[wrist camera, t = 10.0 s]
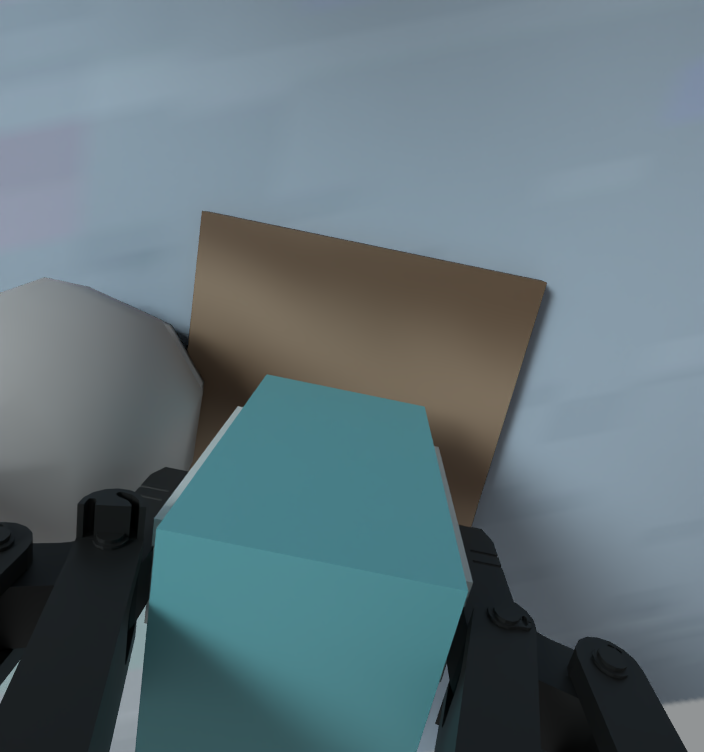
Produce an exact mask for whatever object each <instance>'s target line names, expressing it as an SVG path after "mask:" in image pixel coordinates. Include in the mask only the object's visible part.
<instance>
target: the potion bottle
mask: <svg viewBox="0 0 704 752" xmlns="http://www.w3.org/2000/svg"><path fill="white" fill-rule="evenodd" d="M203 388H204V380H203V379H202V377H201V375H200V373H199V372H198V370H197V368H196V367H195V365H194V363H193V361H192V360H191V358H190V356H189V354H188V353H187V351H186V349H185V347H184V346H183V344H182V342H181V340H180V339H179V337H178V335H177V333H176V332H175V330H174V328H173V326H172V325H171V324H168V323H166V322H164V321H162V320H160V319H158V318H156V317H154V316H152V315H149V314H147V313H145V312H143V311H141V310H138V309H136V308H134V307H132V306H130V305H128V304H125V303H123V302H121V301H119V300H117V299H114V298H112V297H110V296H108V295H106V294H103V293H101V292H99V291H97V290H95V289H92V288H90V287H87V286H83V285H78V284H73V283H69V282H64V281H59V280H55V279H50V278H45V277H44V278H41V279H38V280H36V281H33V282H30V283H27V284H24V285H21V286H18V287H15V288H13V289H10V290H7V291H4V292H1V293H0V522H13V523H18V524H21V525H24V526H27V527H28V528H29V529H30V530H31V531H32V533H33V543H62V542H71V541H75V539H76V526H77V504H78V503H79V502H80V500H81V499H82V498H83V497H85V496H87V495H89V494H91V493H93V492H95V491H100V490H104V489H116V488H120V489H126V490H132V491H134V492H135V491H136V490H137V489H138V488H139V487H141V484H142V483H143V482H144V481H145V480H146V479H147V478H148V476H149V475H150V474H152V473H154V472H156V471H158V470H160V469H162V468H164V467H169V468H174V469H179V470H184V471H189V469H190V466H191V464H192V462H193V456H194V449H195V442H196V436H197V429H198V422H199V415H200V408H201V402H202V395H203Z"/></svg>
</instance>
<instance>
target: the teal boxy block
mask: <svg viewBox="0 0 704 752" xmlns="http://www.w3.org/2000/svg"><path fill="white" fill-rule="evenodd" d="M467 594H468V588H467V584H466V579H465V575H464V571H463V567H462V562H461V558H460V554H459V550H458V546H457V541H456V537H455V533H454V529H453V524H452V520H451V516H450V512H449V507H448V503H447V499H446V495H445V491H444V486H443V482H442V478H441V474H440V469H439V465H438V461H437V457H436V452H435V448H434V444H433V440H432V436H431V431H430V427H429V423H428V419H427V414H426V410H425V407H424V406H419V405H415V404H410V403H405V402H400V401H395V400H390V399H385V398H380V397H375V396H371V395H366V394H361V393H356V392H351V391H346V390H341V389H336V388H331V387H326V386H322V385H317V384H312V383H307V382H302V381H297V380H292V379H287V378H282V377H277V376H273V375H268V374H267V375H266V376H265V377H264V379H263V380H262V382H261V383H260V384H259V386H258V387H257V389H256V390H255V391H254V393H253V394H252V396H251V397H250V398H249V400H248V401H247V403H246V404H245V405H244V407H243V408H242V410H241V411H240V412H239V414H238V415H237V417H236V418H235V419H234V421H233V422H232V424H231V425H230V426H229V428H228V429H227V431H226V432H225V433H224V435H223V436H222V437H221V439H220V440H219V442H218V443H217V444H216V446H215V447H214V449H213V450H212V451H211V453H210V454H209V456H208V457H207V458H206V460H205V461H204V463H203V464H202V465H201V467H200V468H199V470H198V471H197V472H196V474H195V475H194V477H193V478H192V479H191V481H190V482H189V484H188V485H187V486H186V488H185V489H184V491H183V492H182V493H181V495H180V496H179V498H178V499H177V500H176V502H175V503H174V505H173V506H172V507H171V509H170V510H169V512H168V513H167V514H166V516H165V517H164V519H163V520H162V521H161V523H160V524H159V526H158V527H157V528H156V537H155V547H154V558H153V568H152V579H151V590H150V600H149V611H148V621H147V632H146V642H145V653H144V663H143V674H142V685H141V695H140V706H139V716H138V727H137V737H136V748H135V752H417V749H418V745H419V742H420V739H421V736H422V733H423V730H424V727H425V724H426V721H427V718H428V715H429V711H430V708H431V705H432V702H433V699H434V696H435V693H436V690H437V687H438V684H439V681H440V677H441V674H442V671H443V668H444V665H445V662H446V659H447V656H448V653H449V650H450V647H451V643H452V640H453V637H454V634H455V631H456V628H457V625H458V622H459V619H460V616H461V613H462V609H463V606H464V603H465V600H466V597H467Z"/></svg>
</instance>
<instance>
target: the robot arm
mask: <svg viewBox="0 0 704 752" xmlns="http://www.w3.org/2000/svg"><path fill="white" fill-rule="evenodd" d="M242 408H243V407H239V406H238V407H237V408H236V409H235V411H234V412H233V413H232V415H231V416H230V417H229V419H228V420H227V421H226V423H225V424H224V425H223V427H222V428H221V429H220V431H219V432H218V433H217V435H216V436H215V437H214V439H213V440H212V441H211V443H210V444H209V445H208V447H207V448H206V449H205V451H204V452H203V453H202V455H201V456H200V458H199V459H198V460H197V462H196V463H195V464H194V466H193V467H192V468H191V470H190V471H184V470H179V469H174V468H169V467H164V468H162V469H160V470H158V471H156V472H154V473H152V474H150V475H149V476H148V478H147V479H146V480H145V481H144V482H143V483H142V484H141V487H139V488H138V489H137V490H136V491H135V492H134V491H132V490H126V489H120V488H116V489H104V490H100V491H95V492H93V493H91V494H89V495H87V496H85V497H83V498H82V499H81V500H80V502H79V503H78V504H77V526H76V539H75V541H71V542H62V543H33V533H32V531H31V530H30V529H29V528H28V527H27V526H24V525H21V524H18V523H13V522H0V685H1V684H2V682H3V681H4V680H5V679H6V677H7V676H8V675H9V673H10V672H11V671H12V670H13V668H14V667H15V666H16V664H17V663H18V662H19V661H20V662H19V664H18V666H17V668H16V671H15V673H14V675H13V677H12V679H11V682H10V684H9V686H8V688H7V690H6V692H5V695H4V697H3V699H2V701H1V703H0V752H109V751H110V746H111V742H112V737H113V733H114V728H115V724H116V719H117V715H118V711H119V706H120V702H121V697H122V693H123V688H124V684H125V679H126V675H127V671H128V666H129V662H130V657H131V653H132V648H133V644H134V640H135V633H136V621H137V619H138V617H139V615H140V614H141V612H142V610H143V609H144V607H145V605H146V611H145V622H144V623H147V621H148V611H149V600H150V590H151V579H152V568H153V558H154V547H155V537H156V528H157V527H158V526H159V524H160V523H161V521H162V520H163V519H164V517H165V516H166V514H167V513H168V512H169V510H170V509H171V507H172V506H173V505H174V503H175V502H176V500H177V499H178V498H179V496H180V495H181V493H182V492H183V491H184V489H185V488H186V486H187V485H188V484H189V482H190V481H191V479H192V478H193V477H194V475H195V474H196V472H197V471H198V470H199V468H200V467H201V465H202V464H203V463H204V461H205V460H206V458H207V457H208V456H209V454H210V453H211V451H212V450H213V449H214V447H215V446H216V444H217V443H218V442H219V440H220V439H221V437H222V436H223V435H224V433H225V432H226V431H227V429H228V428H229V426H230V425H231V424H232V422H233V421H234V419H235V418H236V417H237V415H238V414H239V412H240V411H241V410H242ZM434 448H435V452H436V457H437V461H438V465H439V469H440V474H441V478H442V482H443V486H444V491H445V495H446V499H447V503H448V507H449V512H450V516H451V520H452V524H453V529H454V533H455V537H456V541H457V546H458V550H459V554H460V558H461V562H462V567H463V571H464V575H465V579H466V584H467V588H468V594H467V597H466V600H465V603H464V606H463V609H462V613H461V616H460V619H459V622H458V625H457V628H456V631H455V634H454V637H453V640H452V643H451V647H450V650H449V653H448V656H447V659H446V662H445V665H444V668H443V671H442V674H441V677H440V681H439V682H441V679H442V676H443V673H444V670H445V667H446V664H447V666H448V673H449V680H450V681H449V684H448V687H447V690H446V693H445V696H444V699H443V702H442V705H441V708H440V711H439V714H438V717H437V720H436V723H435V724H437V725H439V729H438V734H437V740H436V746H435V752H687V750H686V748H685V746H684V744H683V743H682V741H681V739H680V737H679V735H678V734H677V732H676V730H675V728H674V726H673V725H672V723H671V721H670V719H669V717H668V716H667V714H666V712H665V710H664V708H663V706H662V705H661V703H660V701H659V699H658V697H657V696H656V694H655V692H654V690H653V688H652V687H651V685H650V683H649V681H648V679H647V677H646V676H645V674H644V672H643V670H642V669H641V668H640V666H639V665H638V664H637V662H636V661H635V660H634V659H633V658H632V657H631V656H630V655H629V654H627V653H626V652H625V651H624V650H623V649H621V648H619V647H618V646H616V645H614V644H613V643H611V642H609V641H606V640H603V639H600V638H595V637H585V638H583V639H580V640H579V641H578V643H577V645H576V647H575V649H574V650H573V649H571V648H568V647H566V646H564V645H562V644H559V643H557V642H555V641H553V640H550V639H548V638H546V637H545V636H543V635H541V634H539V633H538V632H536V627H535V623H534V621H533V619H532V618H531V617H530V615H529V614H528V613H527V611H525V610H524V609H523V608H522V607H520V606H519V605H518V604H516V603H514V602H513V599H512V596H511V593H510V590H509V587H508V584H507V581H506V578H505V576H504V573H503V570H502V568H501V564H500V561H499V558H498V557H497V553H496V550H495V547H494V544H493V542H492V541H491V539H490V538H489V537H488V536H487V535H486V534H485V533H484V531H483V530H482V529H478V528H473V527H468V526H463V525H458V521H457V518H456V514H455V510H454V506H453V502H452V498H451V494H450V490H449V486H448V482H447V478H446V474H445V470H444V466H443V462H442V458H441V454H440V450H439V447H436V446H434ZM20 659H21V660H20Z"/></svg>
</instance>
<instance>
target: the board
mask: <svg viewBox="0 0 704 752" xmlns="http://www.w3.org/2000/svg"><path fill="white" fill-rule="evenodd" d="M546 284H547V282H544V281H542V280H537V279H532V278H527V277H522V276H517V275H513V274H508V273H503V272H498V271H493V270H488V269H484V268H479V267H474V266H469V265H464V264H459V263H455V262H450V261H445V260H440V259H435V258H431V257H426V256H421V255H416V254H411V253H406V252H402V251H397V250H392V249H387V248H382V247H377V246H373V245H368V244H363V243H358V242H353V241H348V240H344V239H339V238H334V237H329V236H324V235H319V234H315V233H310V232H305V231H300V230H295V229H290V228H286V227H281V226H276V225H271V224H266V223H261V222H257V221H252V220H247V219H242V218H237V217H233V216H228V215H223V214H218V213H213V212H208V211H202V216H201V226H200V235H199V245H198V255H197V264H196V274H195V284H194V293H193V303H192V313H191V322H190V332H189V342H188V351H187V353H188V354H189V356H190V358H191V360H192V361H193V363H194V365H195V367H196V368H197V370H198V372H199V373H200V375H201V377H202V379H203V380H204V388H203V395H202V402H201V408H200V415H199V422H198V429H197V436H196V442H195V449H194V456H193V462H192V464H191V466H190V469H189V471H190V470H191V468H192V467H193V466H194V464H195V463H196V462H197V460H198V459H199V458H200V456H201V455H202V453H203V452H204V451H205V449H206V448H207V447H208V445H209V444H210V443H211V441H212V440H213V439H214V437H215V436H216V435H217V433H218V432H219V431H220V429H221V428H222V427H223V425H224V424H225V423H226V421H227V420H228V419H229V417H230V416H231V415H232V413H233V412H234V411H235V409H236V408H237V407H238V406H239V407H244V405H245V404H246V403H247V401H248V400H249V398H250V397H251V396H252V394H253V393H254V391H255V390H256V389H257V387H258V386H259V384H260V383H261V382H262V380H263V379H264V377H265V376H266V375H267V374H268V375H273V376H277V377H282V378H287V379H292V380H297V381H302V382H307V383H312V384H317V385H322V386H326V387H331V388H336V389H341V390H346V391H351V392H356V393H361V394H366V395H371V396H375V397H380V398H385V399H390V400H395V401H400V402H405V403H410V404H415V405H419V406H424V407H425V410H426V414H427V419H428V423H429V427H430V431H431V436H432V440H433V444H434V446H436V447H439V450H440V454H441V458H442V462H443V466H444V470H445V474H446V478H447V482H448V486H449V490H450V494H451V498H452V502H453V506H454V510H455V514H456V518H457V521H458V525H463V526H468V527H471V526H472V522H473V519H474V516H475V513H476V510H477V506H478V503H479V500H480V497H481V493H482V490H483V487H484V484H485V481H486V477H487V474H488V471H489V468H490V465H491V461H492V458H493V455H494V452H495V448H496V445H497V442H498V439H499V436H500V432H501V429H502V426H503V423H504V420H505V416H506V413H507V410H508V407H509V403H510V400H511V397H512V394H513V391H514V387H515V384H516V381H517V378H518V375H519V371H520V368H521V365H522V362H523V358H524V355H525V352H526V349H527V346H528V342H529V339H530V336H531V333H532V330H533V326H534V323H535V320H536V317H537V313H538V310H539V307H540V304H541V301H542V297H543V294H544V291H545V288H546Z"/></svg>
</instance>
